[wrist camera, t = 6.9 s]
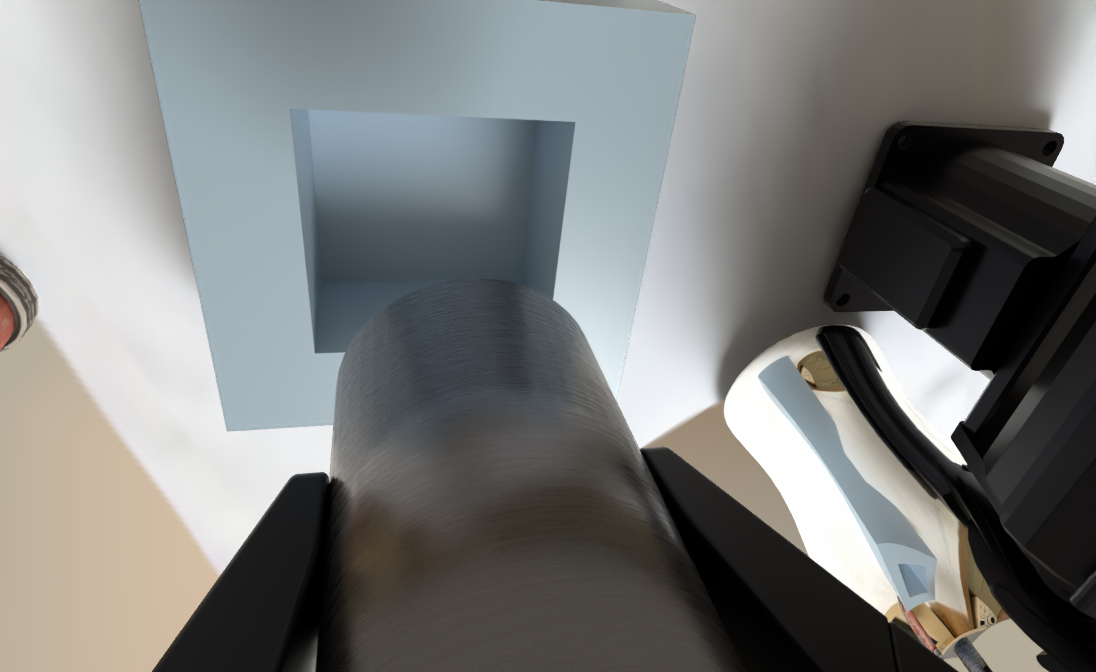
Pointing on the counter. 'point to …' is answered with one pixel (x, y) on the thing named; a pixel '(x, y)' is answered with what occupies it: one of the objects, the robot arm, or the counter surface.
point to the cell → (498, 503)
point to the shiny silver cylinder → (899, 507)
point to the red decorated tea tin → (15, 304)
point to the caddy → (407, 168)
